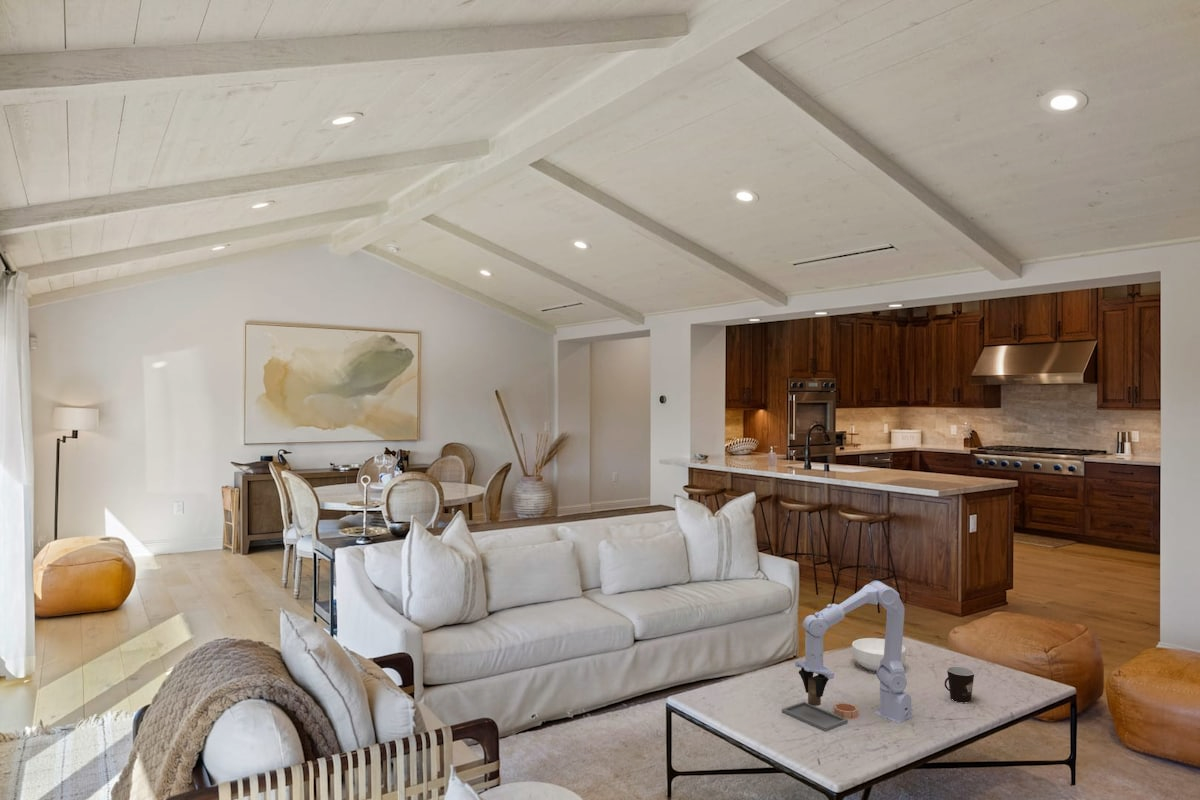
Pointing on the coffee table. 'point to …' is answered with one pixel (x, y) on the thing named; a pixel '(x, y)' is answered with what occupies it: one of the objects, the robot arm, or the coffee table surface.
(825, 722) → the charcoal tray
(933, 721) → the coffee table surface
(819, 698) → the walnut peg
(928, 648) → the coffee table surface
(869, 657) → the bowl
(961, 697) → the coffee mug
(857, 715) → the terracotta cup
